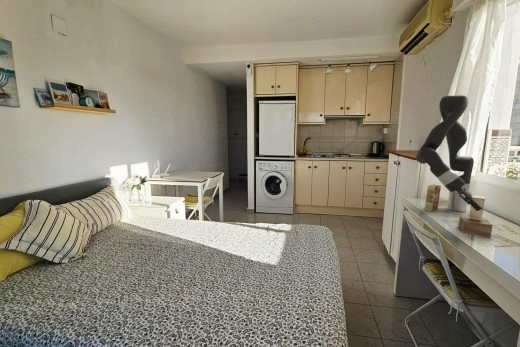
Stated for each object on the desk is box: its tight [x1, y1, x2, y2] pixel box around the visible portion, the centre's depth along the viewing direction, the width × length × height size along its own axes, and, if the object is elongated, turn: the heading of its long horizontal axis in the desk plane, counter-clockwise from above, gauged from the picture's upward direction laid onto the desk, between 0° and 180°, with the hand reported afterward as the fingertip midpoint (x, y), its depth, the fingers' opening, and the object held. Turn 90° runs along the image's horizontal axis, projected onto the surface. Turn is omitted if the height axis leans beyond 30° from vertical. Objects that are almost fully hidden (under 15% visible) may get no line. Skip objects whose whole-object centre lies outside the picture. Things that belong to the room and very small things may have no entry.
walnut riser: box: [457, 215, 493, 238], centre depth 119 cm, size 10×10×6 cm
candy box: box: [424, 184, 442, 212], centre depth 154 cm, size 9×4×15 cm, turn 123°
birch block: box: [468, 195, 486, 220], centre depth 118 cm, size 4×4×10 cm
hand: (479, 208), depth 118 cm, fingers closed on birch block, 4 cm apart
